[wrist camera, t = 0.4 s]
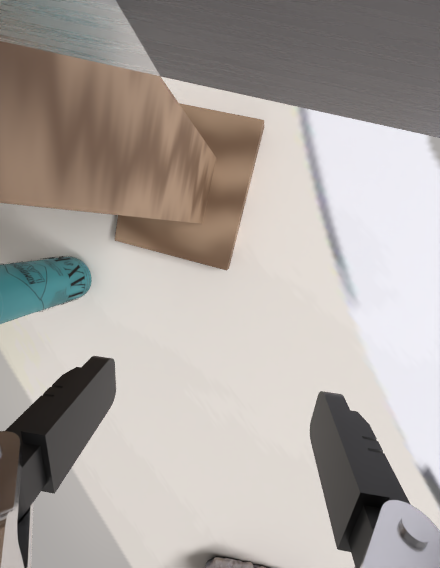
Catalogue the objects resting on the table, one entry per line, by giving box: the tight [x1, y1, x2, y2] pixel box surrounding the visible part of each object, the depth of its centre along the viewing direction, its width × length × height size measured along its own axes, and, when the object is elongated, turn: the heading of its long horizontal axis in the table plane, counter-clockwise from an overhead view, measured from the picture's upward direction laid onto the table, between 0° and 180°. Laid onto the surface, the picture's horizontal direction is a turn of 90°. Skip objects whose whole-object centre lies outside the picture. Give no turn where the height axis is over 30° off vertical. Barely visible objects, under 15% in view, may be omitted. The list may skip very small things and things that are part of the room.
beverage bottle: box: [0, 256, 91, 324], centre depth 31 cm, size 6×7×20 cm
